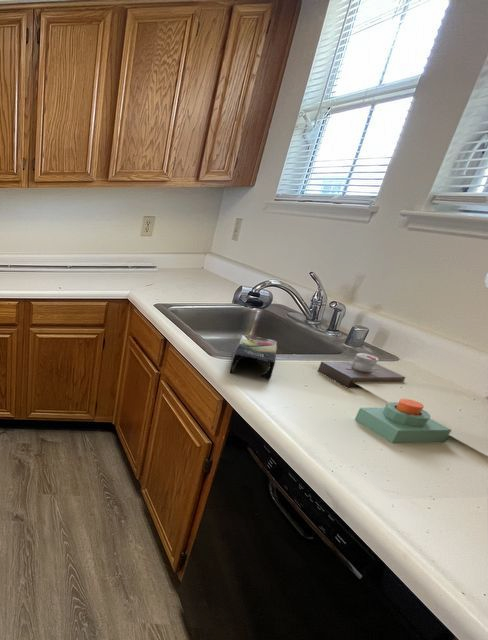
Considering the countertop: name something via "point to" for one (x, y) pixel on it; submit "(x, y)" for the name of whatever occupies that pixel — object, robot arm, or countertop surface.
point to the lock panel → (356, 374)
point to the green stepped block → (402, 425)
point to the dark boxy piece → (256, 352)
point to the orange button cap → (410, 406)
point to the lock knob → (364, 362)
